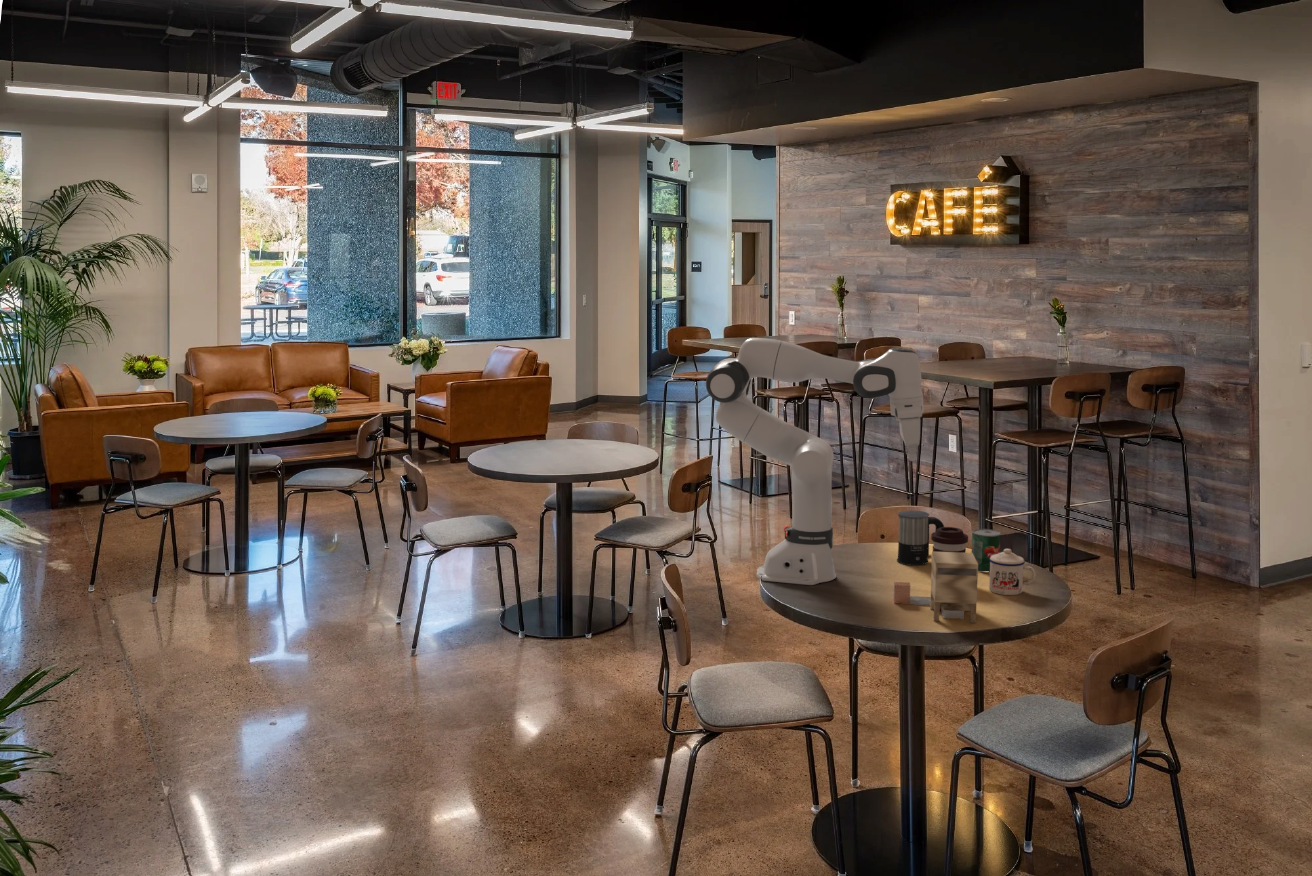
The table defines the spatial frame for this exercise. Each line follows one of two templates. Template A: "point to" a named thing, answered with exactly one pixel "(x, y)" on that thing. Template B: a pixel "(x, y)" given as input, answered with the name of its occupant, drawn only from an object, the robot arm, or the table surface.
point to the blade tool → (907, 595)
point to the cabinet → (954, 582)
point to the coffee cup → (949, 540)
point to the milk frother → (915, 536)
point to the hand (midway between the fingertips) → (910, 457)
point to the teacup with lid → (1007, 573)
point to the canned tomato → (985, 546)
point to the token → (952, 611)
